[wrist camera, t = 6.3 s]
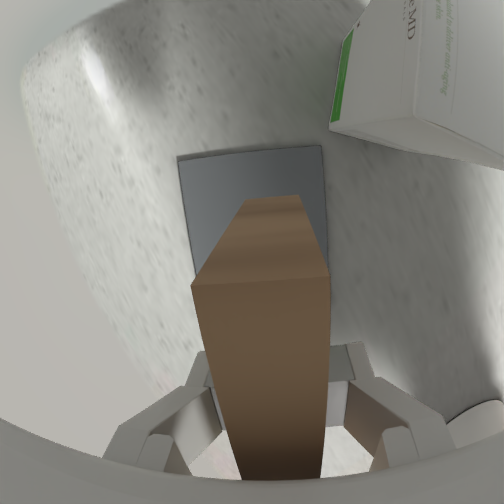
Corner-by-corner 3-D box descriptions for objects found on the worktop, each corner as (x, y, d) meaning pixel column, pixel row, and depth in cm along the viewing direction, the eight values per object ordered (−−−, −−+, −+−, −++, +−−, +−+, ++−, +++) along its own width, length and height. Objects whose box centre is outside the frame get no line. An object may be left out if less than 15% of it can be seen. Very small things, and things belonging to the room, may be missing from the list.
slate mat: (327, 310, 26) (328, 312, 26) (206, 317, 28) (205, 319, 27) (320, 145, 22) (320, 145, 21) (179, 161, 23) (178, 161, 23)
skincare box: (342, 39, 19) (412, -76, 4) (417, 64, 19) (543, 6, 4) (325, 134, 22) (405, 114, 7) (403, 156, 21) (545, 184, 7)
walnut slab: (307, 408, 12) (311, 531, 6) (268, 410, 12) (258, 533, 6) (298, 194, 9) (330, 275, 3) (242, 199, 9) (182, 286, 4)
